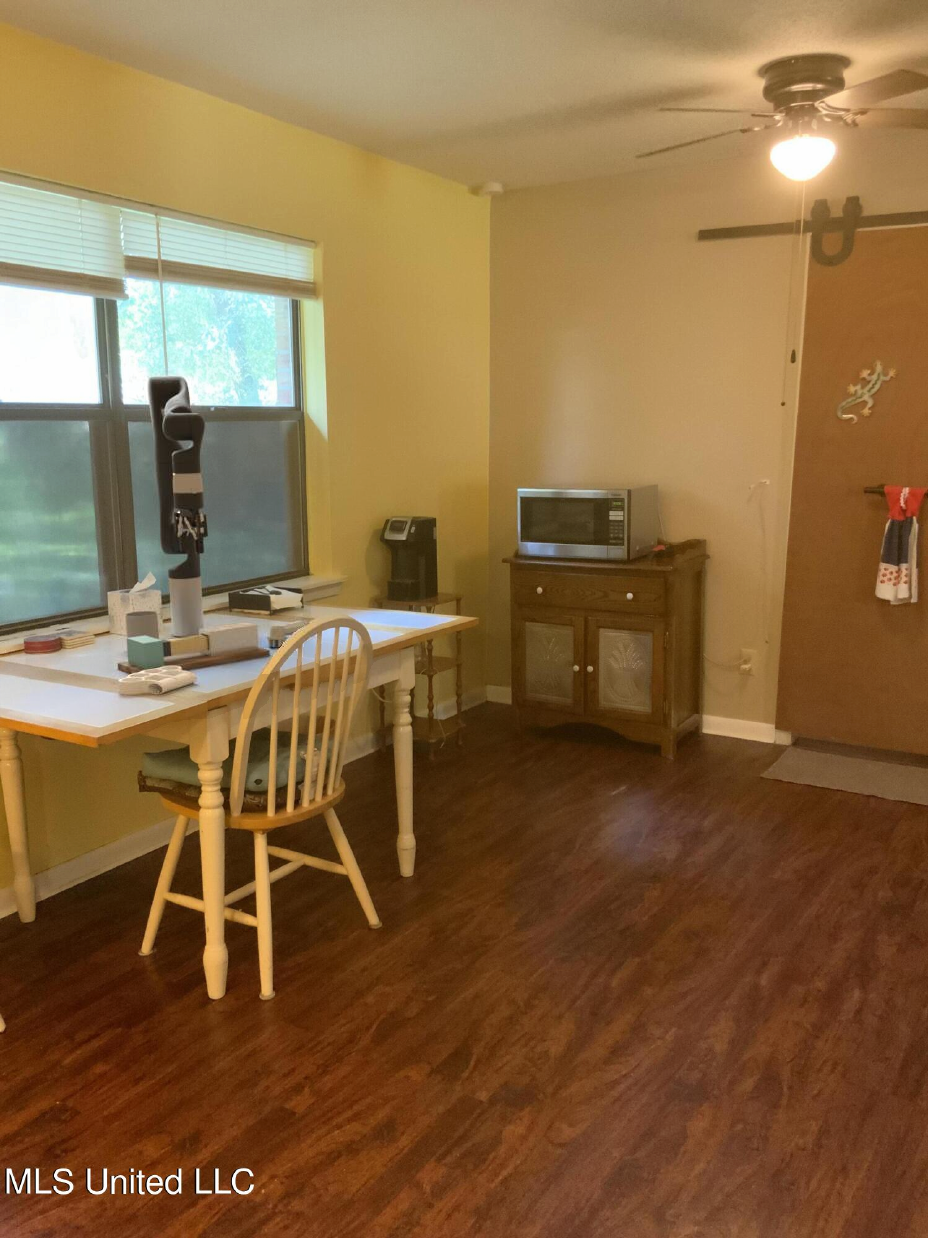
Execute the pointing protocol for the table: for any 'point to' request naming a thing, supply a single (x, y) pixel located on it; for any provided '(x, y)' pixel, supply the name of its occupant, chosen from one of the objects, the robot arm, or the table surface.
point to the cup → (142, 624)
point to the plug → (185, 644)
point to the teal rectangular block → (145, 652)
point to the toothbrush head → (283, 632)
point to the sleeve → (230, 638)
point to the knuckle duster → (156, 680)
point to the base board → (199, 660)
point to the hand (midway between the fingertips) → (192, 552)
